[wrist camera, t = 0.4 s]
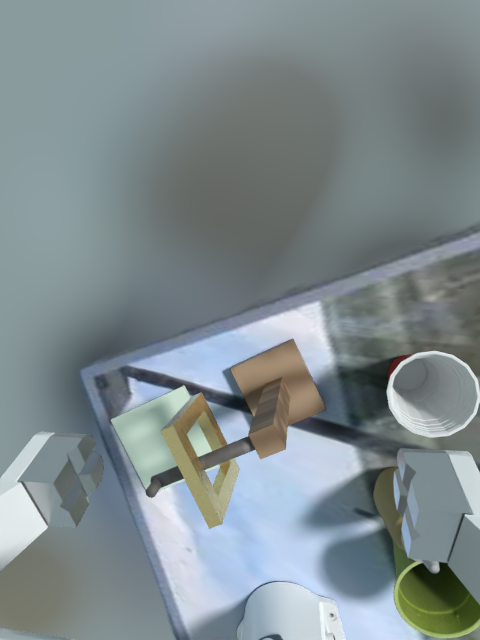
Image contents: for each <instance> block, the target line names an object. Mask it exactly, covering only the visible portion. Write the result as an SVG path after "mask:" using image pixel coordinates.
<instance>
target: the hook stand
mask: <svg viewBox="0 0 480 640" xmlns="http://www.w3.org/2000/svg"><path fill="white" fill-rule="evenodd" d="M230 370H231V372H232V374H233V376H234V378H235V380H236V382H237V384H238V386H239V388H240V390H241V392H242V394H243V396H244V398H245V400H246V402H247V404H248V406H249V408H250V410H251V412H252V414H253V416H254V419H253V422H252V425H251V428H250V431H249V434H248V435H249V436H248V437H245V438H243V439H241V440H238V441H236V442H233V443H231V444H229V445H226V446H224V447H221V448H219V449H217V450H214V451H212V452H209V453H207V454H204V455H202V456H200V457H198V458H199V460H200V462H201V464H202V466H203V468H204V470H206V469H209V468H211V467H214V466H216V465H219V464H221V463H223V462H226V461H228V460H231V459H233V458H236V457H238V456H241V455H243V454H246V453H248V452H250V451H253V450H255V449H256V451H257V453H258V455H259V457H260V459H263V458H265V457H268V456H270V455H273V454H275V453H278V452H280V451H283V450H285V449H286V439H287V427H288V425H291V424H293V423H295V422H298V421H300V420H303V419H305V418H308V417H310V416H312V415H315V414H317V413H320V412H322V411H325V410H326V405H325V403H324V401H323V399H322V397H321V395H320V393H319V391H318V389H317V387H316V385H315V383H314V381H313V378H312V376H311V374H310V372H309V370H308V368H307V366H306V364H305V362H304V360H303V358H302V356H301V354H300V352H299V350H298V348H297V346H296V344H295V342H294V339H291V340H289V341H287V342H284V343H282V344H280V345H278V346H276V347H274V348H271V349H269V350H267V351H265V352H263V353H260V354H258V355H256V356H254V357H252V358H250V359H247V360H245V361H243V362H241V363H239V364H237V365H234V366H232V368H231V369H230ZM182 479H184V477H183V475H182V473H181V471H180V469H179V467H178V466H176V467H173V468H171V469H168V470H166V471H164V472H161V473H159V474H156V475H154V476H152V477H151V480H150V482H151V484H150V485H149V487H148V488H147V489H146V495H147V496H148V497H151V498H152V497H154V496H155V495H156V494H157V492H158V491H159V489H160V488H162V487H164V486H167V485H169V484H172V483H174V482H177V481H179V480H182Z"/></svg>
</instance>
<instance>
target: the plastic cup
mask: <svg viewBox="0 0 480 640" xmlns="http://www.w3.org/2000/svg"><path fill="white" fill-rule="evenodd" d="M388 379H389V384H388V388H387V391H386V392H387V397H388V403H389V408H390V410H391V411H392V413H393V415H394V416H395V418H396V419H397V421H398V422H399V423H400V424H401V425H403V426H404V427H406V428H407V429H408V430H410V431H411V432H413V433H415V434H419V435H423V436H427V437H430V438H431V437H441V436H449V435H451V434H453V433H455V432H457V431H459V430H461V429H463V428H465V427H466V426H467V424H468V423H469V422H470V421H471V420H472V418H473V417H474V416H475V415H476V413H477V409H478V406H479V402H480V390H479V384H478V380H477V378H476V377H475V375H474V374H473V372H472V371H471V369H470V368H469V366H468V365H467V364H465V363H464V362H462V361H461V360H459V359H458V358H456V357H455V356H454V355H451V354H446V353H442V352H438V351H430V352H423V353H416V354H414V355H403V356H400V357H399V358H397V359H395V360H394V361H393V362H392V364H391V365H390V367H389V371H388Z"/></svg>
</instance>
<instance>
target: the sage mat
mask: <svg viewBox="0 0 480 640" xmlns="http://www.w3.org/2000/svg"><path fill="white" fill-rule="evenodd" d="M190 398H191V397H190V395H189V393H188V391H187V389H186V387H185V385H184V386H182V387H180V388H177V389H175V390H173V391H171V392H169V393H167V394H164V395H162V396H160V397H158V398H156V399H154V400H151V401H149V402H147V403H145V404H143V405H141V406H138V407H136V408H134V409H132V410H130V411H128V412H125V413H123V414H121V415H119V416H117V417H115V418H112V419H111V422H112V424H113V426H114V428H115V430H116V432H117V434H118V436H119V438H120V440H121V442H122V444H123V446H124V448H125V450H126V452H127V454H128V456H129V458H130V460H131V462H132V464H133V466H134V467H135V469H136V471H137V473H138V475H139V477H140V479H141V481H142V483H143V485H144V487H145V489H147V488H148V487H149V485H150V484H151V482H150V480H151V477H152V476H154V475H156V474H159V473H161V472H164V471H166V470H168V469H171V468H173V467H176V466H178V465H177V463H176V461H175V459H174V457H173V455H172V453H171V451H170V450H169V448H168V446H167V444H166V442H165V440H164V438H163V436H162V434H161V432H160V431H161V430H162V429H163V428H164V426H165V425H166V424H167V423H168V422H169V421H170V420H171V419H172V418H173V417H174V415H175V414H176V413H177V412H178V411H179V410H180V409H181V408H182V407H183V406H184V405H185V403H186V402H187V401H188V400H189V399H190ZM187 436H188V438H189V440H190V442H191V444H192V446H193V448H194V450H195V452H196V454H197V456H198V457H200V456H202V455H204V454H207V453H209V452H212V450H211V448H210V446H209V444H208V442H207V440H206V438H205V436H204V434H203V432H202V430H201V428H200V426H199V424H198V422H197V421H196V422H195V424H194V425H193V426H192V428H191V429H190V430H189V432H188V433H187ZM217 467H220V466H219V465H216V466H214V467H211V468H209V469H206V470H205V472H207V471H210V470H212V469H215V468H217ZM183 481H185V479H182V480H179V481H177V482H174V483H172V484H169V485H167V486H164V487H162V488H160V489H159V491H160V490H163V489H165V488H168V487H170V486H173V485H175V484H178V483H180V482H183Z"/></svg>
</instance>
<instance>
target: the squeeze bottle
mask: <svg viewBox="0 0 480 640" xmlns="http://www.w3.org/2000/svg"><path fill="white" fill-rule="evenodd" d="M398 468H399V467H391V468H387V469H385V470H384V471H382V472H381V473H380V475H379V476H378V478H377V481H376V484H375V488H374V494H373V498H374V502H375V505H376V508H377V509H378V511H379V513H380V515H381V517H382V519H383V521H384V523H385V525H386V527H387V529H388V531H389V533H390V535H391V537H392V539H393V540H394V542H395V543H396V544H397V546H398V547H399V548H400V549H402V550H404V551H405V552H406V548H405V543H404V539H403V535H402V530H401V528H402V523H403V517H402V516H401V515H400V514H399V512H398V511H397V508H396V503H395V497H394V473H395V471H396V470H397V469H398ZM406 553H407V552H406ZM413 560H415V561H416V562H420V563H424V565H425V566H426V567H427V568H428V570H429V571H430V572H431V573H434V574H435V573H438V572H439V570H440V568H439V562H436V561H428V560H420V559H413Z"/></svg>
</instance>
